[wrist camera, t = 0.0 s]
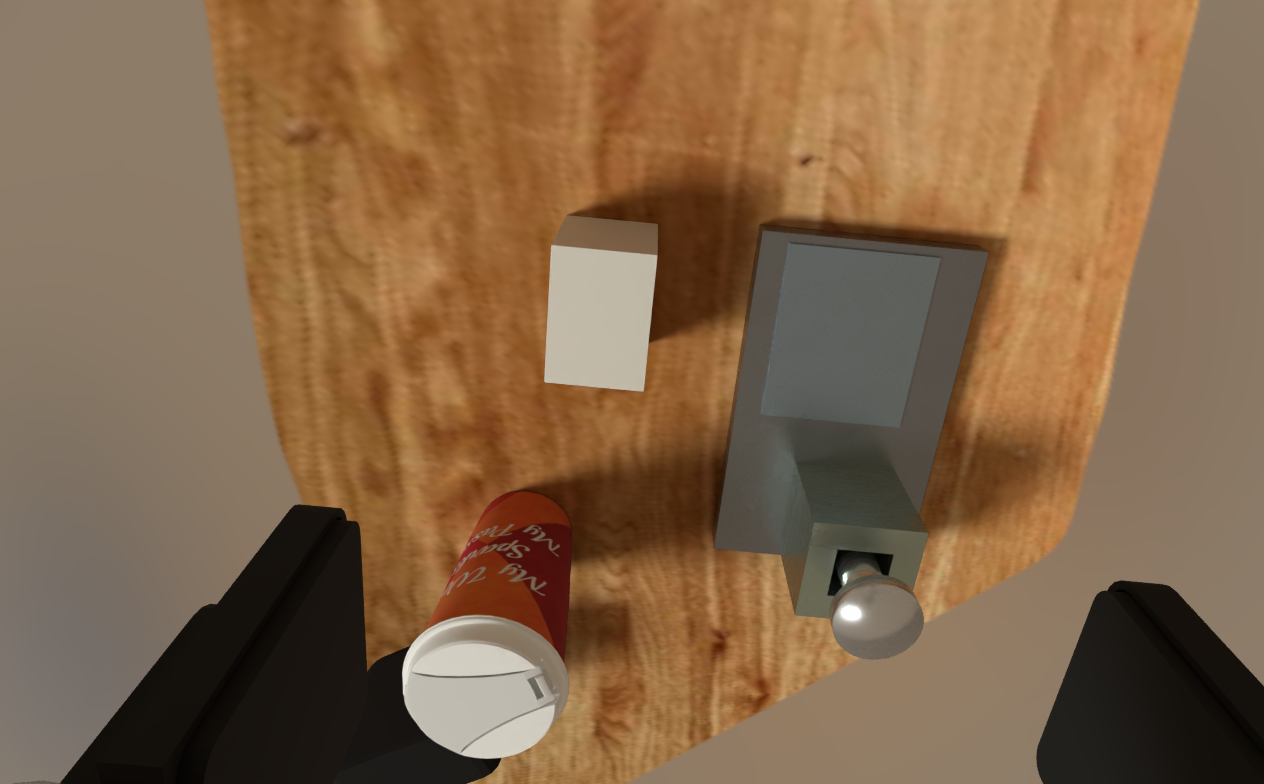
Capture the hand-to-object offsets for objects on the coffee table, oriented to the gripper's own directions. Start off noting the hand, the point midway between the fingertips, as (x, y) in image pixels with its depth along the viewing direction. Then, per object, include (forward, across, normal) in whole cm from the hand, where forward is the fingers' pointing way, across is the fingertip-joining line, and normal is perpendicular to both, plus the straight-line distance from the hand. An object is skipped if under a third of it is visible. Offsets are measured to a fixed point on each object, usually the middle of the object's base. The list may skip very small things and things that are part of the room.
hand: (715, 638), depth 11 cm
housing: (+37, +3, +6) cm, 37 cm away
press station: (+37, -11, +12) cm, 40 cm away
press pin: (+31, -12, +19) cm, 38 cm away
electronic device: (+37, +12, +34) cm, 52 cm away
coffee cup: (+37, +7, +23) cm, 44 cm away
